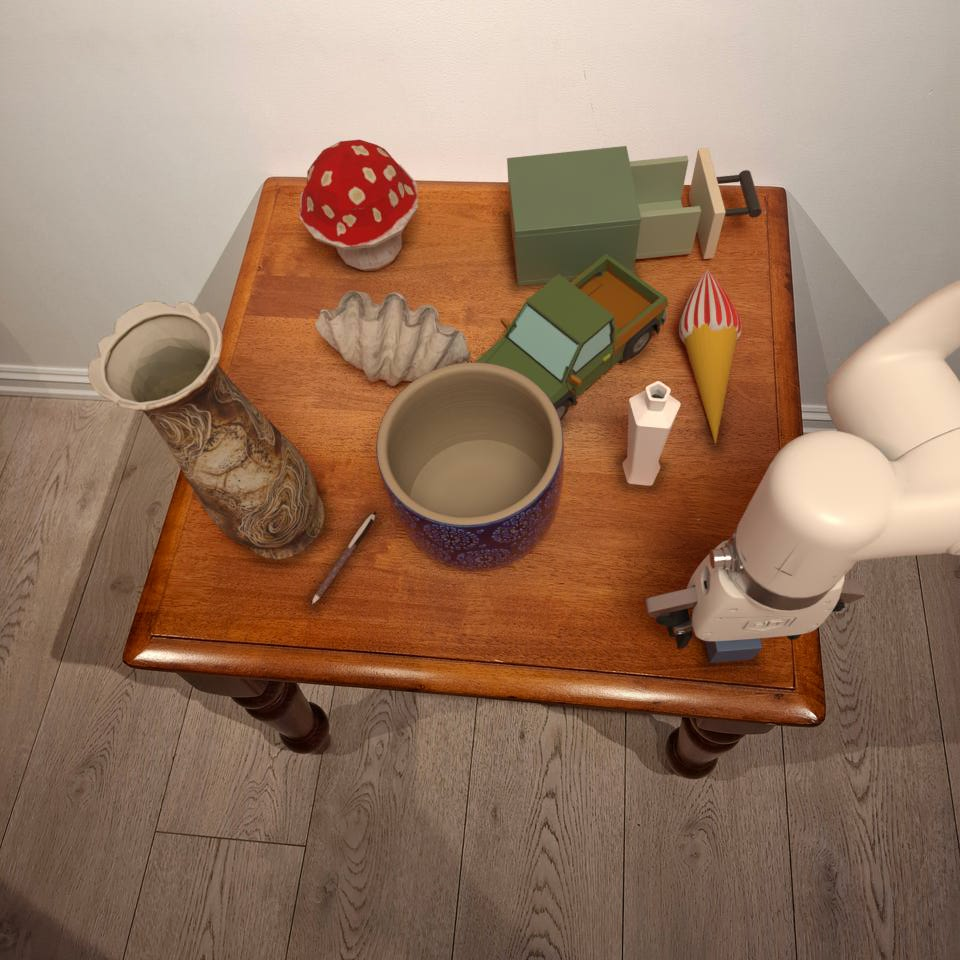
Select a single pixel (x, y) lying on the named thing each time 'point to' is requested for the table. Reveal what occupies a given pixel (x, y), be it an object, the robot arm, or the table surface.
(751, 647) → the block
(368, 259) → the decorative mushroom
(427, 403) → the planter
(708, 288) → the ice cream cone
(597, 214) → the cabinet
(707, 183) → the drawer
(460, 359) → the seashell
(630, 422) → the perfume bottle
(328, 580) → the pen
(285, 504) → the vase
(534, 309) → the toy truck
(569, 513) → the table surface
